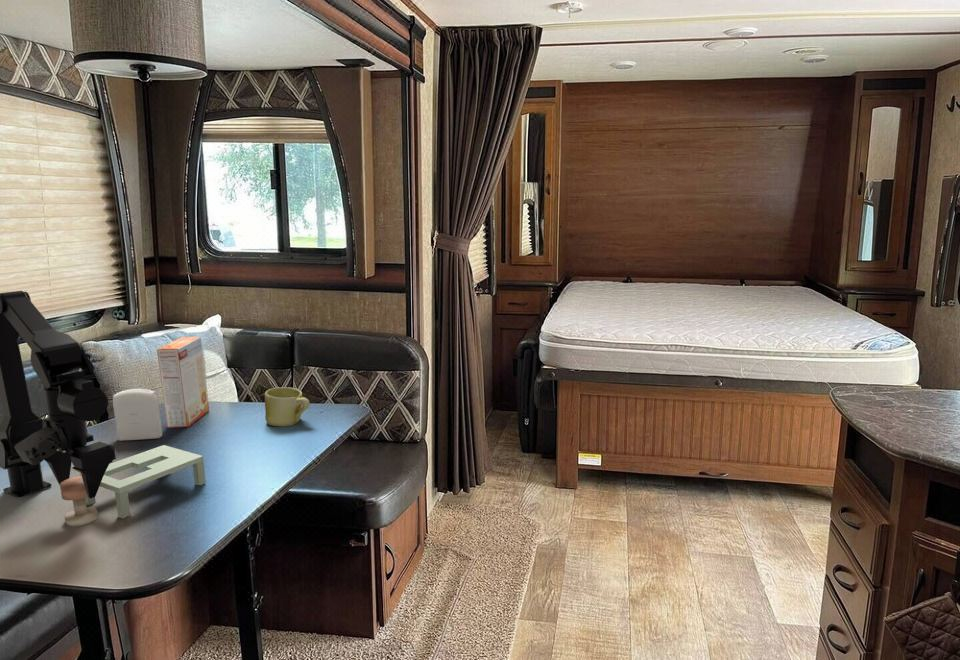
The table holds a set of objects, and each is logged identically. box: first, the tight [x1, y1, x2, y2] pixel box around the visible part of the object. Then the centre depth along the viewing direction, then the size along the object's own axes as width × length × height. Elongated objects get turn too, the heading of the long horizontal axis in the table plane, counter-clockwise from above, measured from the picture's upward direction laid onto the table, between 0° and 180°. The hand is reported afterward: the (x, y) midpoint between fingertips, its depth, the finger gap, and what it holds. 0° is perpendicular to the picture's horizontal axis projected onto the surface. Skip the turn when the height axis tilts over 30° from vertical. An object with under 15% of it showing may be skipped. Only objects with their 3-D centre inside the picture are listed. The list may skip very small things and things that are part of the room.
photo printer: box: [112, 388, 163, 442], centre depth 173 cm, size 10×4×12 cm, turn 96°
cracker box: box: [156, 336, 210, 429], centre depth 186 cm, size 14×6×21 cm, turn 178°
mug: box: [264, 386, 310, 427], centre depth 183 cm, size 12×10×10 cm
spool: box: [59, 475, 99, 527], centre depth 131 cm, size 5×5×8 cm
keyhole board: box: [79, 444, 207, 519], centre depth 142 cm, size 13×18×6 cm
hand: (77, 492), depth 131 cm, fingers open, 9 cm apart
